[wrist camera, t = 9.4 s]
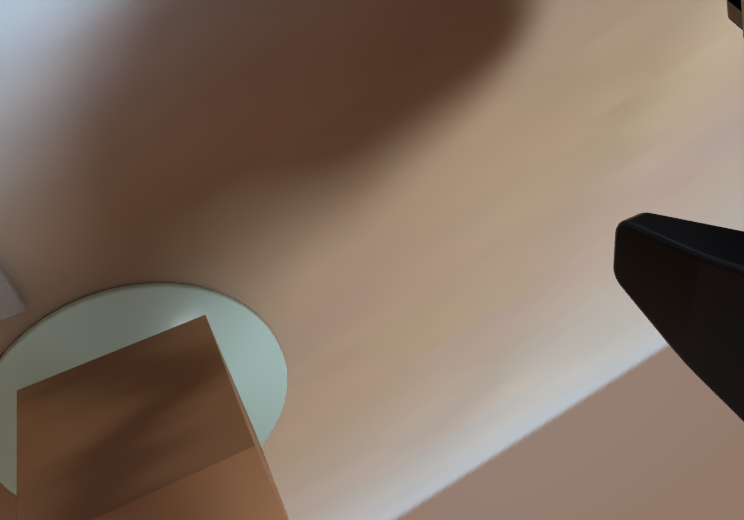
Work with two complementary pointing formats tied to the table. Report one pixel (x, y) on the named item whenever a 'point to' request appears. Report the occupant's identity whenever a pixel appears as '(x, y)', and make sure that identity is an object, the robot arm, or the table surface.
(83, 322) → the pale green disc
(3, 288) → the tile
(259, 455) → the walnut block
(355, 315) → the table surface
